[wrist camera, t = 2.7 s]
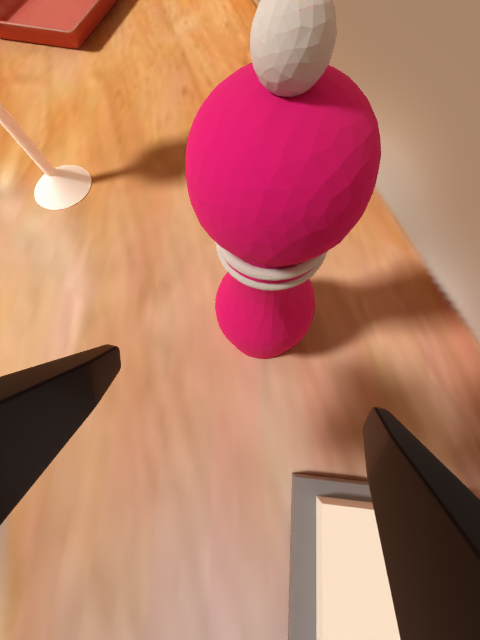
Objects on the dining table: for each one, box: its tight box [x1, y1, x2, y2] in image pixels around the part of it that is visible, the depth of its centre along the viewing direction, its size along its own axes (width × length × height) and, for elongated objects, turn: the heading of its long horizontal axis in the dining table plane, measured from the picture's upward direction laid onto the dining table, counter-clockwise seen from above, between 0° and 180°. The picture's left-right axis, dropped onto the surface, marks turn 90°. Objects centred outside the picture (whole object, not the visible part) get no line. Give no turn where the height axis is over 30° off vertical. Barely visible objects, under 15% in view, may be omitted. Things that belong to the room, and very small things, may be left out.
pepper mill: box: [185, 0, 381, 359], centre depth 14 cm, size 7×7×20 cm
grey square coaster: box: [288, 473, 401, 640], centre depth 16 cm, size 12×11×3 cm
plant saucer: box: [0, 0, 118, 49], centre depth 41 cm, size 18×18×3 cm
